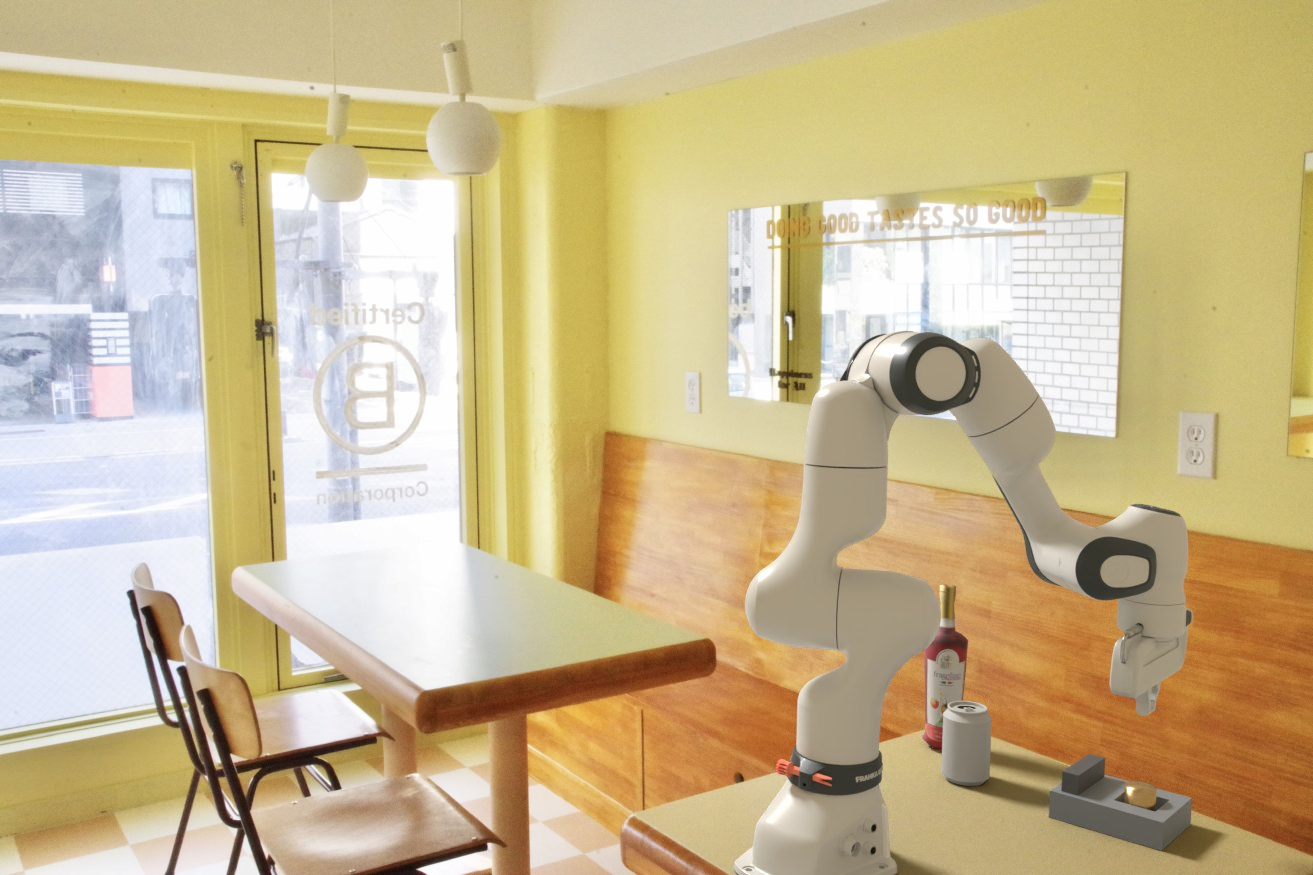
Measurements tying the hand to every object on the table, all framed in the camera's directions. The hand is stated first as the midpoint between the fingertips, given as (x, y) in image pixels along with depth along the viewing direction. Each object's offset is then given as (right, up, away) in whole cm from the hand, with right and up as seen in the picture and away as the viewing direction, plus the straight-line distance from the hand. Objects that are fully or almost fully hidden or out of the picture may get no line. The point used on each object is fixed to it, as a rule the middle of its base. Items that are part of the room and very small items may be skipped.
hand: (1145, 712), depth 163 cm
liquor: (-21, -14, +34) cm, 42 cm away
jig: (-2, -17, +3) cm, 17 cm away
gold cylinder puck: (0, -17, +1) cm, 17 cm away
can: (-21, -15, +19) cm, 32 cm away
